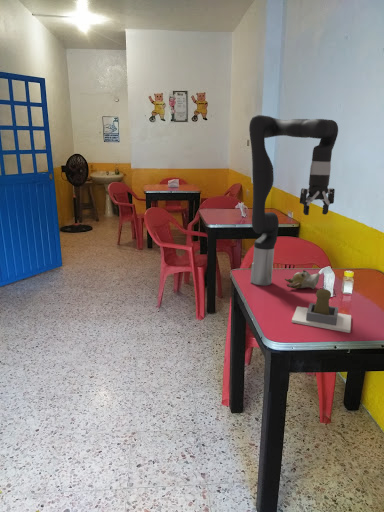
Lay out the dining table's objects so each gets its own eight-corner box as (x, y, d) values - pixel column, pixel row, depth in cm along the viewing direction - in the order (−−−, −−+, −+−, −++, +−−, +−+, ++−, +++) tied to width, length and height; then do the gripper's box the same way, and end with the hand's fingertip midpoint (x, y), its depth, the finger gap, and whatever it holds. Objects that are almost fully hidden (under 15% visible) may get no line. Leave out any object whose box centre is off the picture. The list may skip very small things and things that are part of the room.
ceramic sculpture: (322, 273, 173) (287, 273, 175) (321, 292, 175) (286, 292, 177) (317, 267, 183) (284, 267, 185) (316, 284, 186) (284, 284, 187)
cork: (329, 322, 143) (333, 293, 140) (312, 320, 144) (316, 291, 141) (328, 315, 149) (331, 288, 146) (311, 313, 150) (314, 286, 147)
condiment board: (291, 322, 144) (292, 312, 143) (297, 308, 157) (298, 299, 156) (349, 332, 137) (351, 322, 136) (350, 317, 150) (352, 307, 149)
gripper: (329, 172, 159) (324, 212, 164) (298, 172, 155) (294, 213, 160) (341, 174, 153) (336, 215, 157) (309, 174, 148) (305, 216, 153)
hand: (315, 214), depth 158 cm, fingers open, 8 cm apart
